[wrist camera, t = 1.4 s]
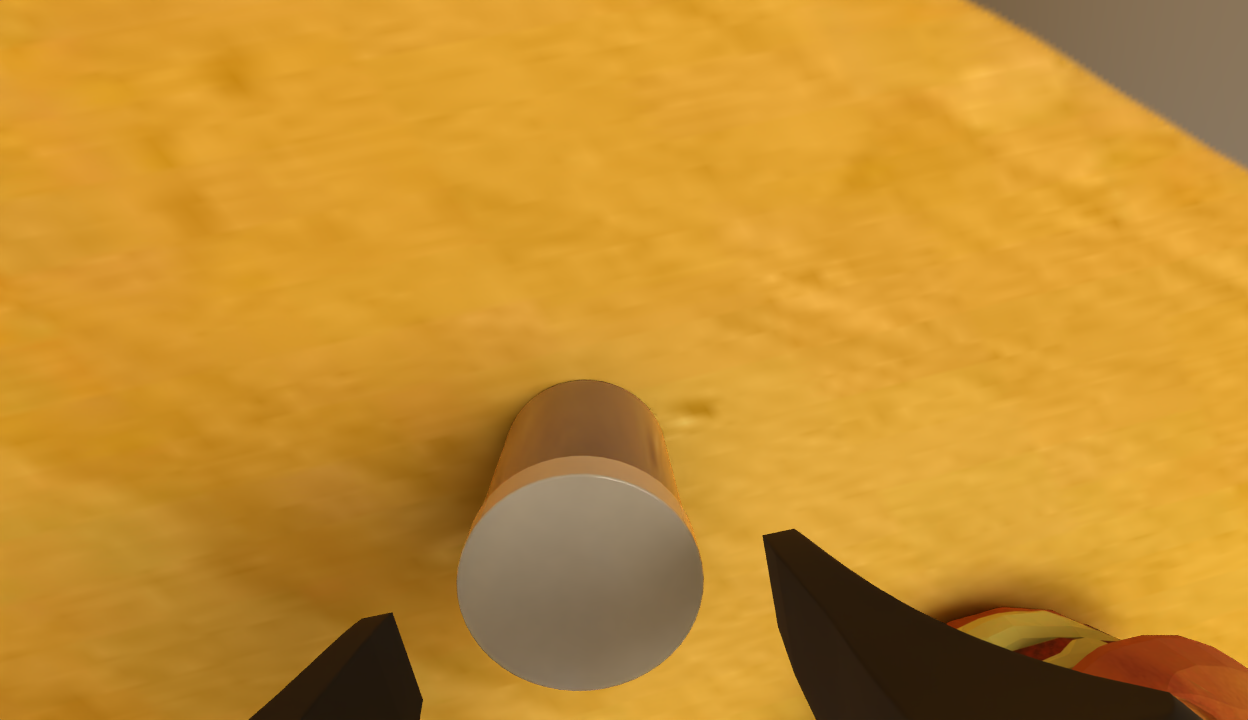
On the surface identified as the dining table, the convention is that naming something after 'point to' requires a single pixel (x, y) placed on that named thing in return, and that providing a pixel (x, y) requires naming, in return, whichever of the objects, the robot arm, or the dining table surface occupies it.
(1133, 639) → the cheeseburger
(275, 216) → the dining table surface
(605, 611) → the spice jar
